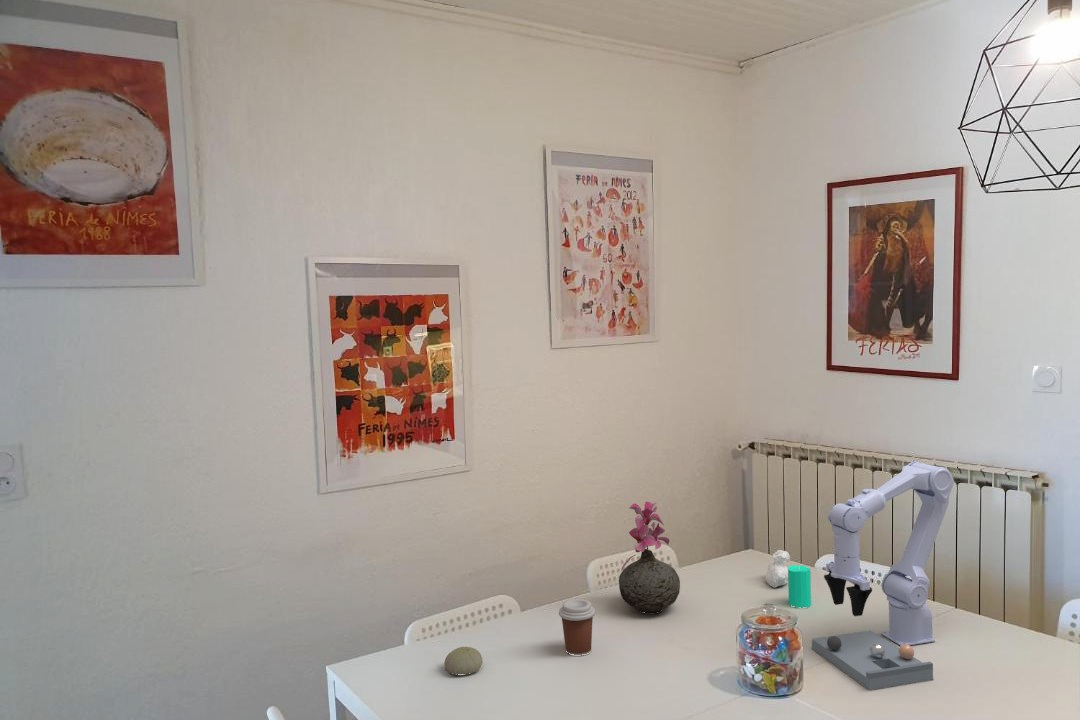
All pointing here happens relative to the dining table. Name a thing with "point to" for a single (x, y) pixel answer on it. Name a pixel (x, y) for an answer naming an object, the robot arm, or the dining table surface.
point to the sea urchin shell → (463, 661)
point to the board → (873, 661)
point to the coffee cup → (577, 625)
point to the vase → (648, 568)
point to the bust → (778, 569)
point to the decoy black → (834, 643)
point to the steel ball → (877, 650)
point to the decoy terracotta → (906, 651)
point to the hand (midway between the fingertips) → (847, 609)
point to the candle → (799, 586)
